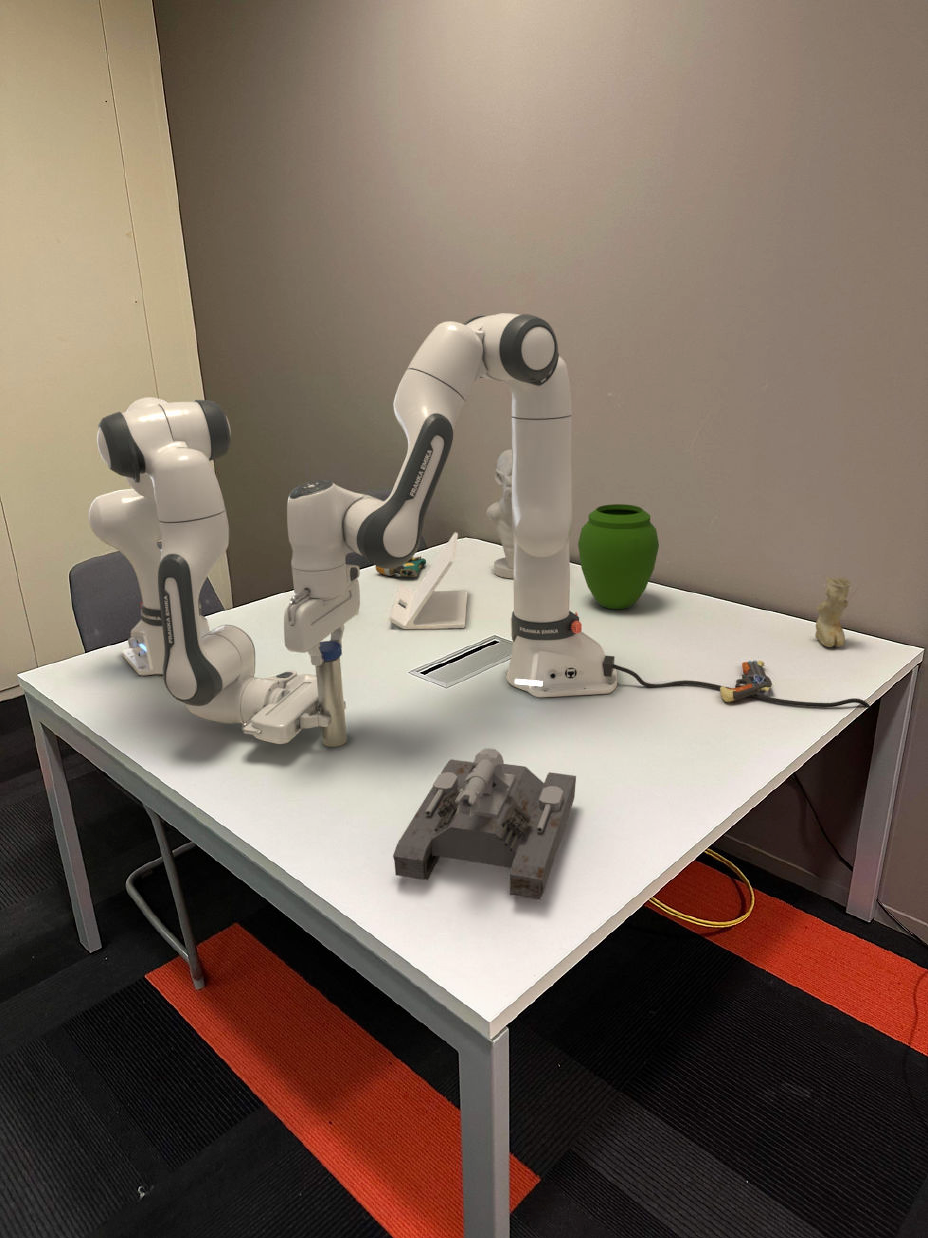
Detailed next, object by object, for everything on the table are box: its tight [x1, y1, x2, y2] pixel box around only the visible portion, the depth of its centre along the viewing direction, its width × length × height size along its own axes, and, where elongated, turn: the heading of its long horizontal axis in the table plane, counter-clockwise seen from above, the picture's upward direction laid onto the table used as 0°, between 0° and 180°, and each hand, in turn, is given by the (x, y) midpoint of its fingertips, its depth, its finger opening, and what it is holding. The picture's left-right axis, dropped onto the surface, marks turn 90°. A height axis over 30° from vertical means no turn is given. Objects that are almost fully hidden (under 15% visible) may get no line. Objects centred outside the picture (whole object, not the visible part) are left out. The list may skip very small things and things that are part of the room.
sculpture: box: [814, 576, 852, 648], centre depth 185 cm, size 6×7×15 cm
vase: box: [577, 503, 660, 610], centre depth 210 cm, size 20×20×24 cm
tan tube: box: [314, 656, 348, 748], centre depth 149 cm, size 4×4×18 cm
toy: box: [392, 747, 577, 901], centre depth 120 cm, size 25×20×15 cm
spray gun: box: [375, 555, 427, 578], centre depth 245 cm, size 4×17×15 cm
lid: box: [319, 640, 343, 661], centre depth 146 cm, size 5×5×2 cm
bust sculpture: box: [485, 448, 514, 579], centre depth 231 cm, size 16×24×35 cm
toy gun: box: [719, 660, 774, 703], centre depth 169 cm, size 3×19×10 cm
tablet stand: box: [388, 531, 468, 630], centre depth 211 cm, size 18×25×17 cm
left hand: (337, 713), depth 150 cm, fingers closed on tan tube, 4 cm apart
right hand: (327, 656), depth 146 cm, fingers closed on lid, 5 cm apart
